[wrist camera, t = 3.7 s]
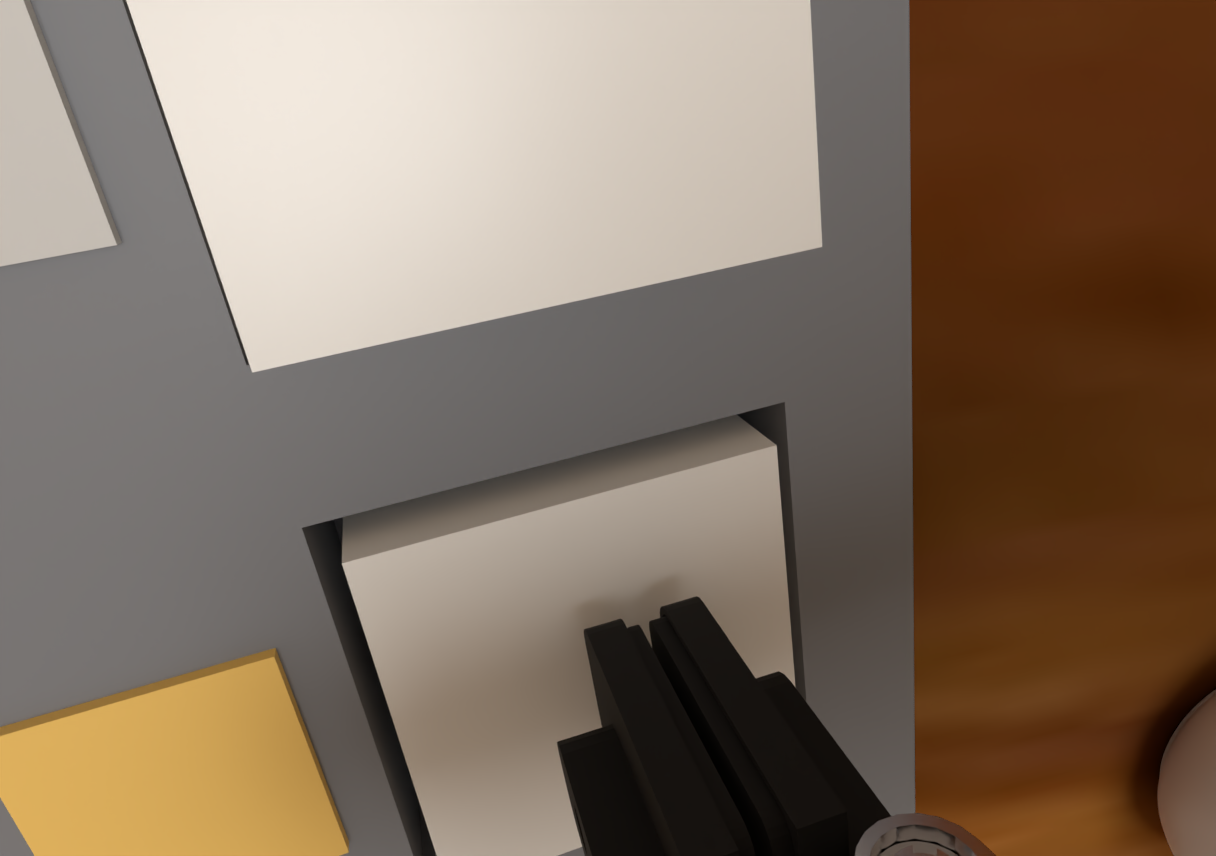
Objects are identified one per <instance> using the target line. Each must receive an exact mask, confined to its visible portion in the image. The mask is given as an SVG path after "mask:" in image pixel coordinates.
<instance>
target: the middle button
mask: <svg viewBox="0 0 1216 856" xmlns="http://www.w3.org/2000/svg"><path fill="white" fill-rule="evenodd" d="M126 1H127V4H128V7H129V10H130V13H131V16H132V19H133V22H134V25H135V28H136V31H137V34H138V37H139V40H140V43H141V46H142V49H143V52H144V54H145V57H146V60H147V63H148V66H149V69H150V72H151V75H152V78H153V81H154V84H155V87H156V90H157V93H158V96H159V99H160V102H161V105H162V108H163V111H164V114H165V117H166V119H167V122H168V125H169V128H170V131H171V134H172V137H173V140H174V143H175V146H176V149H177V152H178V155H179V158H180V161H181V164H182V167H183V170H184V173H185V176H186V179H187V182H188V184H189V187H190V190H191V193H192V196H193V199H194V202H195V205H196V208H197V211H198V214H199V217H200V220H201V223H202V226H203V229H204V232H205V235H206V238H207V241H208V244H209V247H210V249H211V252H212V255H213V258H214V261H215V264H216V267H217V270H218V273H219V276H220V279H221V282H222V285H223V288H224V291H225V294H226V297H227V300H228V303H229V306H230V309H231V312H232V314H233V317H234V320H235V323H236V326H237V329H238V332H239V335H240V338H241V341H242V344H243V347H244V350H245V353H246V356H247V359H248V362H249V365H250V368H251V371H252V373H253V372H257V371H262V370H266V369H271V368H275V367H280V366H284V365H289V364H294V363H298V362H303V361H307V360H312V359H316V358H321V357H325V356H330V355H334V354H339V353H343V352H348V351H352V350H357V349H362V348H366V347H371V346H375V345H380V344H384V343H389V342H393V341H398V340H402V339H407V338H411V337H416V336H421V335H425V334H430V333H434V332H439V331H443V330H448V329H452V328H457V327H461V326H466V325H470V324H475V323H479V322H484V321H489V320H493V319H498V318H502V317H507V316H511V315H516V314H520V313H525V312H529V311H534V310H538V309H543V308H548V307H552V306H557V305H561V304H566V303H570V302H575V301H579V300H584V299H588V298H593V297H597V296H602V295H606V294H611V293H616V292H620V291H625V290H629V289H634V288H638V287H643V286H647V285H652V284H656V283H661V282H665V281H670V280H675V279H679V278H684V277H688V276H693V275H697V274H702V273H706V272H711V271H715V270H720V269H724V268H729V267H733V266H738V265H743V264H747V263H752V262H756V261H761V260H765V259H770V258H774V257H779V256H783V255H788V254H792V253H797V252H801V251H806V250H811V249H815V248H820V247H822V230H821V210H820V189H819V169H818V149H817V129H816V108H815V88H814V68H813V47H812V27H811V7H810V0H126Z"/></svg>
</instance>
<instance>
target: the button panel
mask: <svg viewBox="0 0 1216 856" xmlns="http://www.w3.org/2000/svg"><path fill="white" fill-rule="evenodd" d="M810 7H811V27H812V47H813V68H814V88H815V108H816V129H817V149H818V169H819V189H820V210H821V230H822V247H820V248H815V249H811V250H806V251H801V252H797V253H792V254H788V255H783V256H779V257H774V258H770V259H765V260H761V261H756V262H752V263H747V264H743V265H738V266H733V267H729V268H724V269H720V270H715V271H711V272H706V273H702V274H697V275H693V276H688V277H684V278H679V279H675V280H670V281H665V282H661V283H656V284H652V285H647V286H643V287H638V288H634V289H629V290H625V291H620V292H616V293H611V294H606V295H602V296H597V297H593V298H588V299H584V300H579V301H575V302H570V303H566V304H561V305H557V306H552V307H548V308H543V309H538V310H534V311H529V312H525V313H520V314H516V315H511V316H507V317H502V318H498V319H493V320H489V321H484V322H479V323H475V324H470V325H466V326H461V327H457V328H452V329H448V330H443V331H439V332H434V333H430V334H425V335H421V336H416V337H411V338H407V339H402V340H398V341H393V342H389V343H384V344H380V345H375V346H371V347H366V348H362V349H357V350H352V351H348V352H343V353H339V354H334V355H330V356H325V357H321V358H316V359H312V360H307V361H303V362H298V363H294V364H289V365H284V366H280V367H275V368H271V369H266V370H262V371H257V372H253V373H252V371H251V368H250V365H249V362H248V359H247V356H246V353H245V350H244V347H243V344H242V341H241V338H240V335H239V332H238V329H237V326H236V323H235V320H234V317H233V314H232V312H231V309H230V306H229V303H228V300H227V297H226V294H225V291H224V288H223V285H222V282H221V279H220V276H219V273H218V270H217V267H216V264H215V261H214V258H213V255H212V252H211V249H210V247H209V244H208V241H207V238H206V235H205V232H204V229H203V226H202V223H201V220H200V217H199V214H198V211H197V208H196V205H195V202H194V199H193V196H192V193H191V190H190V187H189V184H188V182H187V179H186V176H185V173H184V170H183V167H182V164H181V161H180V158H179V155H178V152H177V149H176V146H175V143H174V140H173V137H172V134H171V131H170V128H169V125H168V122H167V119H166V117H165V114H164V111H163V108H162V105H161V102H160V99H159V96H158V93H157V90H156V87H155V84H154V81H153V78H152V75H151V72H150V69H149V66H148V63H147V60H146V57H145V54H144V52H143V49H142V46H141V43H140V40H139V37H138V34H137V31H136V28H135V25H134V22H133V19H132V16H131V13H130V10H129V7H128V4H127V1H126V0H0V856H437V855H436V852H435V849H434V846H433V843H432V840H431V837H430V834H429V831H428V828H427V825H426V821H425V818H424V815H423V812H422V809H421V806H420V803H419V800H418V797H417V794H416V791H415V788H414V784H413V781H412V778H411V775H410V772H409V769H408V766H407V763H406V760H405V757H404V754H403V751H402V748H401V744H400V741H399V738H398V735H397V732H396V729H395V726H394V723H393V720H392V717H391V714H390V711H389V707H388V704H387V701H386V698H385V695H384V692H383V689H382V686H381V683H380V680H379V677H378V674H377V670H376V667H375V664H374V661H373V658H372V655H371V652H370V649H369V646H368V643H367V640H366V637H365V634H364V630H363V627H362V624H361V621H360V618H359V615H358V612H357V609H356V606H355V603H354V600H353V597H352V593H351V590H350V587H349V584H348V581H347V578H346V575H345V572H344V569H343V566H342V536H343V517H345V516H349V515H353V514H357V513H360V512H364V511H368V510H372V509H376V508H380V507H384V506H387V505H391V504H395V503H399V502H403V501H407V500H410V499H414V498H418V497H422V496H426V495H430V494H433V493H437V492H441V491H445V490H449V489H453V488H456V487H460V486H464V485H468V484H472V483H476V482H479V481H483V480H487V479H491V478H495V477H499V476H502V475H506V474H510V473H514V472H518V471H522V470H525V469H529V468H533V467H537V466H541V465H545V464H548V463H552V462H556V461H560V460H564V459H568V458H571V457H575V456H579V455H583V454H587V453H591V452H594V451H598V450H602V449H606V448H610V447H614V446H617V445H621V444H625V443H629V442H633V441H637V440H640V439H644V438H648V437H652V436H656V435H660V434H663V433H667V432H671V431H675V430H679V429H683V428H687V427H690V426H694V425H698V424H702V423H706V422H710V421H713V420H717V419H721V418H725V417H729V416H733V415H738V416H739V417H740V418H742V419H743V420H744V421H746V422H747V423H748V424H749V425H751V426H752V427H753V428H755V429H756V430H757V431H759V432H760V433H761V434H763V435H764V436H765V437H766V438H768V439H769V440H770V441H772V442H773V443H774V444H776V445H777V457H778V470H779V482H780V495H781V508H782V521H783V534H784V546H785V559H786V572H787V585H788V598H789V610H790V623H791V636H792V649H793V662H794V674H795V687H796V689H797V690H798V692H799V693H800V694H801V696H802V697H803V698H804V700H805V701H806V702H807V704H808V705H809V706H810V708H811V709H812V710H813V712H814V713H815V714H816V716H817V717H818V718H819V720H820V721H821V722H822V724H823V725H824V726H825V728H826V729H827V730H828V732H829V733H830V734H831V736H832V737H833V739H834V740H835V741H836V743H837V744H838V745H839V747H840V748H841V749H842V751H843V752H844V753H845V755H846V756H847V757H848V759H849V760H850V761H851V763H852V764H853V765H854V767H855V768H856V769H857V771H858V772H859V773H860V775H861V776H862V777H863V779H864V780H865V781H866V783H867V784H868V785H869V787H870V788H871V789H872V791H873V792H874V793H875V795H876V796H877V798H878V799H879V800H880V802H881V803H882V804H883V806H884V807H885V808H886V810H887V811H888V812H889V814H890V815H891V816H893V815H896V814H910V813H915V725H914V590H913V456H912V321H911V187H910V52H909V0H810ZM558 856H585V855H584V851H583V848H582V847H580V848H577V849H574V850H572V851H569V852H566V853H563V854H561V855H558Z"/></svg>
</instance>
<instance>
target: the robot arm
mask: <svg viewBox="0 0 1216 856" xmlns="http://www.w3.org/2000/svg"><path fill="white" fill-rule="evenodd" d="M649 631H650V637H651V643H652V647H651V645H650V643H649V641H648V640H647V638H646V636H645V634H644V632H643V630H642V628H641V627H640V625H634V626H631V627H628V628H627V627H626V625H625V623H624V621H623V620H622V619H617V620H614V621H611V622H607V623H604V624H600V625H597V626H594V627H590V628H587V629H584V639H585V644H586V649H587V654H588V659H589V664H590V669H591V674H592V679H593V684H594V690H595V695H596V700H597V705H598V710H599V715H600V720H601V725H602V728H599V729H595V730H592V731H589V732H586V733H583V734H580V735H577V736H573V737H570V738H567V739H564V740H561V741H558V742H557V746H558V751H559V756H560V760H561V765H562V769H563V773H564V778H565V782H566V786H567V791H568V795H569V799H570V803H571V807H572V811H573V814H574V818H575V822H576V826H577V830H578V833H579V837H580V840H581V844H582V848H583V851H584V855H585V856H996V855H995V854H994V853H993V852H992V851H991V850H990V849H989V848H987V847H986V846H985V845H984V844H983V843H982V842H981V841H980V840H979V839H977V838H976V837H975V836H973V835H972V834H971V833H969V832H968V831H966V830H965V829H964V828H962V827H961V826H959V825H957V824H954V823H952V822H950V821H947V820H945V819H943V818H940V817H937V816H931V815H926V814H920V813H910V814H896V815H893V816H891V815H890V814H889V812H888V811H887V810H886V808H885V807H884V806H883V804H882V803H881V802H880V800H879V799H878V798H877V796H876V795H875V793H874V792H873V791H872V789H871V788H870V787H869V785H868V784H867V783H866V781H865V780H864V779H863V777H862V776H861V775H860V773H859V772H858V771H857V769H856V768H855V767H854V765H853V764H852V763H851V761H850V760H849V759H848V757H847V756H846V755H845V753H844V752H843V751H842V749H841V748H840V747H839V745H838V744H837V743H836V741H835V740H834V739H833V737H832V736H831V734H830V733H829V732H828V730H827V729H826V728H825V726H824V725H823V724H822V722H821V721H820V720H819V718H818V717H817V716H816V714H815V713H814V712H813V710H812V709H811V708H810V706H809V705H808V704H807V702H806V701H805V700H804V698H803V697H802V696H801V694H800V693H799V692H798V690H797V689H796V688H795V686H794V685H793V684H792V682H791V681H790V680H789V679H788V678H787V677H786V675H785V674H783V673H781V672H779V671H778V672H774V673H771V674H768V675H765V676H762V677H759V678H755V677H754V675H753V674H752V672H751V671H750V669H749V668H748V666H747V665H746V664H745V662H744V661H743V659H742V658H741V656H740V655H739V653H738V652H737V650H736V649H735V648H734V646H733V645H732V643H731V642H730V640H729V639H728V637H727V636H726V634H725V633H724V632H723V630H722V629H721V627H720V626H719V624H718V623H717V621H716V620H715V618H714V617H713V616H712V614H711V613H710V611H709V610H708V608H707V607H706V605H705V604H704V602H703V601H702V600H701V599H700V597H697V596H696V597H692V598H689V599H685V600H682V601H679V602H675V603H672V604H668V605H665V606H662V607H661V608H660V618H658V619H655V620H651V621H650V622H649Z"/></svg>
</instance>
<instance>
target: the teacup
mask: <svg viewBox="0 0 1216 856" xmlns="http://www.w3.org/2000/svg"><path fill="white" fill-rule="evenodd" d="M1157 800H1158V810H1159V816H1160V820H1161V824H1162V828H1163V831H1164V834H1165V837H1166V839H1167V842H1168V844H1169V847H1170V849H1171V851H1172V853H1173V855H1174V856H1216V689H1215V690H1214V691H1213V692H1211V693H1210V694H1209V695H1207V696H1206V697H1205V698H1204V699H1202V700H1201V701H1200V702H1199V703H1198V704H1197V705H1196V706H1195V707H1194V708H1193V709H1192V710H1191V711H1190V712H1189V713H1188V714H1187V715H1186V717H1185V718H1184V719H1183V720H1182V722H1181V723H1180V724H1179V726H1178V727H1177V729H1176V730H1175V732H1174V733H1173V735H1172V737H1171V738H1170V740H1169V742H1168V744H1167V746H1166V749H1165V751H1164V754H1163V757H1162V761H1161V765H1160V777H1159V782H1158V793H1157Z"/></svg>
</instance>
